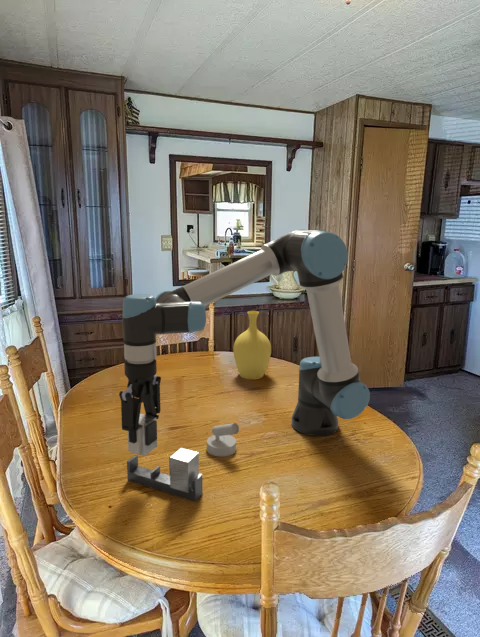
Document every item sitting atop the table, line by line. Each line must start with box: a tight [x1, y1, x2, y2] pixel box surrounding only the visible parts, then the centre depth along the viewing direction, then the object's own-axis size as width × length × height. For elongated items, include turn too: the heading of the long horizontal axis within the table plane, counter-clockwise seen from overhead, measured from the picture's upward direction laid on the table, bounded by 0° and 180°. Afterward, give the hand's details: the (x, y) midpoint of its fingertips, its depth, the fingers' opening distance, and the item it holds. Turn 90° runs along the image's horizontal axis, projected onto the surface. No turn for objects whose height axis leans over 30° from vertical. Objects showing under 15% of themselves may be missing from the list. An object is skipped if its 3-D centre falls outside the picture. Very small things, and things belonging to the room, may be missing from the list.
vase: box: [232, 310, 272, 380], centre depth 186 cm, size 16×16×28 cm
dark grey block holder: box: [126, 447, 203, 503], centre depth 108 cm, size 20×5×10 cm, turn 65°
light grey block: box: [127, 413, 158, 457], centre depth 109 cm, size 6×5×8 cm
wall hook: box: [206, 422, 240, 457], centre depth 127 cm, size 9×10×10 cm
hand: (142, 447), depth 110 cm, fingers closed on light grey block, 5 cm apart
